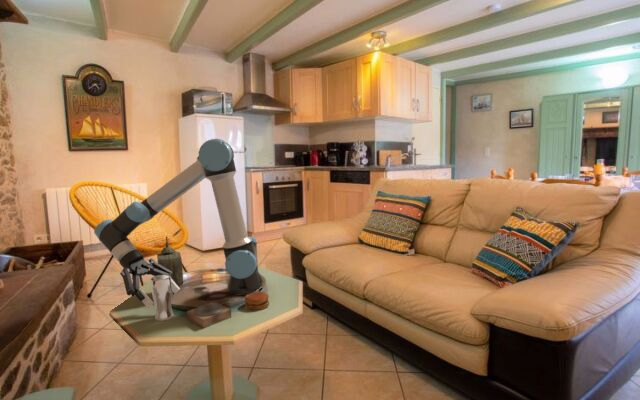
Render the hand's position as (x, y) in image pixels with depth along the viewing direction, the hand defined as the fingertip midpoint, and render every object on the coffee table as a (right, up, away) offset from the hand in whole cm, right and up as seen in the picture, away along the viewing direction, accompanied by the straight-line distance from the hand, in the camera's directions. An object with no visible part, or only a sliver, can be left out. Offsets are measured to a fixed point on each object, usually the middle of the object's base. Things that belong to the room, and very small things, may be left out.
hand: (165, 298), depth 129 cm
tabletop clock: (-8, -5, +25) cm, 27 cm away
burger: (+32, -6, +10) cm, 33 cm away
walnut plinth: (+16, -7, -1) cm, 18 cm away
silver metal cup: (-1, -7, +1) cm, 8 cm away
